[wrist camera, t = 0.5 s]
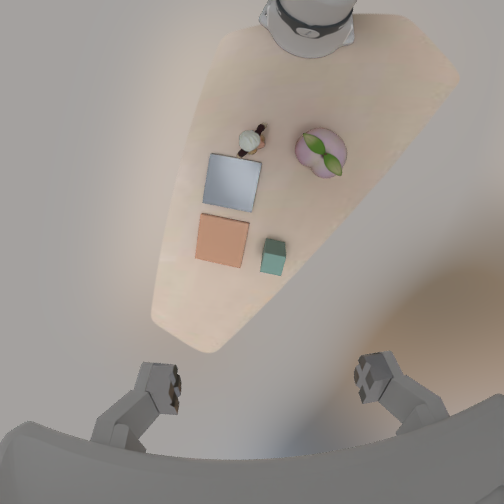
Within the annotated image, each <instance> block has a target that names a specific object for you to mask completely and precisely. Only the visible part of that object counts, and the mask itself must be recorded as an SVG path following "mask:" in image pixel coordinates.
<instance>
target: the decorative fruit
mask: <svg viewBox="0 0 504 504" xmlns="http://www.w3.org/2000/svg"><path fill="white" fill-rule="evenodd" d="M295 154H296V157H297V159H298V160H299V162H300V163H301V164H303V165H305V166H309V167H310V168H311V170H312V171H313V173H314V174H315V175H317V176H318V177H321V178H331V177H334V176H335V175H338V176H341V175H342V168H343V166H344V164H345V161H346V159H347V149H346V146H345V143H344V142H343V140H342V139H341V138H340V137H339V136H338V135H337V134H336V133H334V132H333V131H331V130H329V129H325V128H315V129H312V130H310V131H308V132H307V133H303V136H301V137H300V138H299V140H298V141H297V143H296V146H295Z"/></svg>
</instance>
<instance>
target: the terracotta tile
mask: <svg viewBox="0 0 504 504" xmlns="http://www.w3.org/2000/svg"><path fill="white" fill-rule="evenodd" d="M248 228H249V223H247V222H243V221H238V220H233V219H228V218H223V217H219V216H214V215H209V214H204V213H202V214H201V217H200V224H199V231H198V239H197V247H196V255H195V258H196V259H201V260H205V261H210V262H214V263H219V264H223V265H228V266H233V267H237V268H240V267H241V262H242V257H243V252H244V247H245V242H246V237H247V233H248Z"/></svg>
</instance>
